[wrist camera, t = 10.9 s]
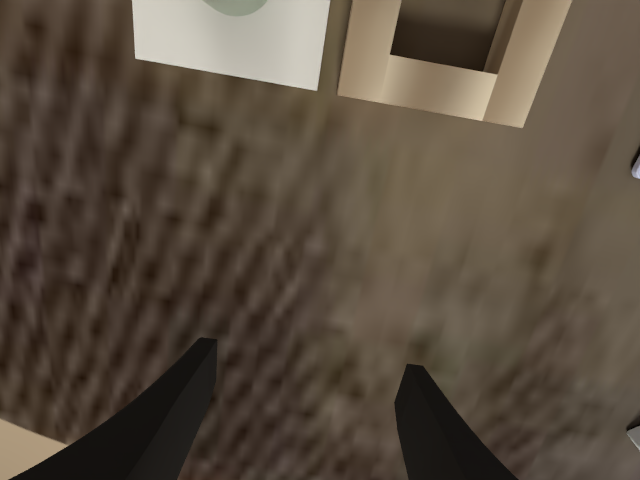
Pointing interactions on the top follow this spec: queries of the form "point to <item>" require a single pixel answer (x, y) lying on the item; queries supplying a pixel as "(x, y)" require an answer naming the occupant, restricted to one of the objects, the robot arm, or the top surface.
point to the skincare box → (635, 436)
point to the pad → (236, 39)
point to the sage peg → (236, 6)
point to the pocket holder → (447, 81)
